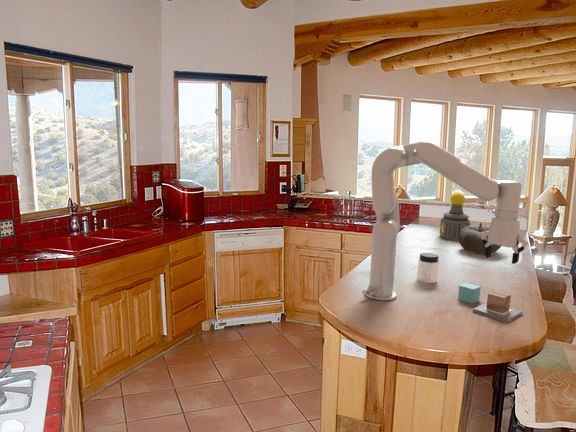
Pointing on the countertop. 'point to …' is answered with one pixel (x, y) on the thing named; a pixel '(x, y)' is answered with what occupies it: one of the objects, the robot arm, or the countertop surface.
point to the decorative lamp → (454, 219)
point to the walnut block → (498, 301)
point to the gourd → (475, 239)
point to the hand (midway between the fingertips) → (501, 260)
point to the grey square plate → (504, 316)
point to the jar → (428, 268)
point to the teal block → (469, 293)
